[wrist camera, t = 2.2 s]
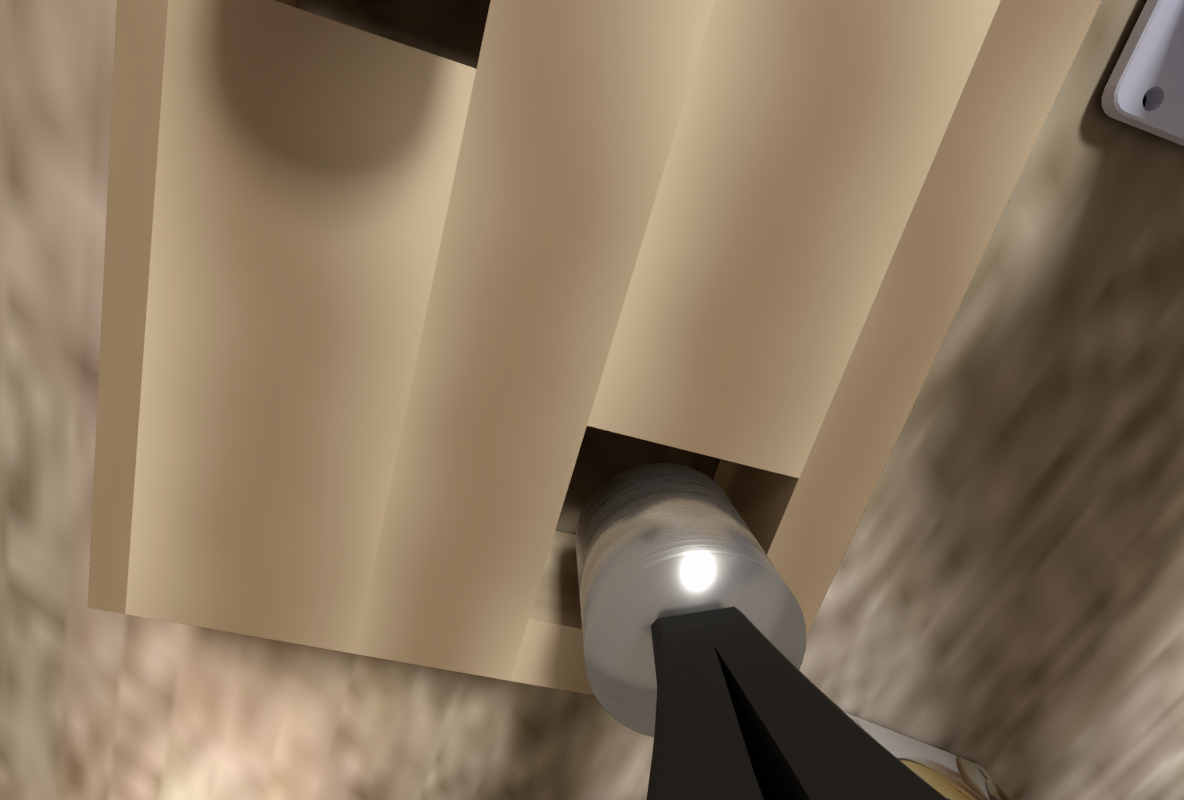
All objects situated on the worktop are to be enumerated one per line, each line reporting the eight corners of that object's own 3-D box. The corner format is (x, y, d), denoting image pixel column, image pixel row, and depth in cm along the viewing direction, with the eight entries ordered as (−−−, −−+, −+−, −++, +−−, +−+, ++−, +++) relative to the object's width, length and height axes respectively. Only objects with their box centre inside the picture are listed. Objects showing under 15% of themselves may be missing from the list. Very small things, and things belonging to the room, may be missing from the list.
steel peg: (759, 484, 12) (840, 581, 9) (704, 619, 13) (759, 754, 10) (602, 445, 11) (623, 532, 8) (556, 589, 12) (559, 722, 9)
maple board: (983, -38, 12) (1175, -158, 9) (716, 615, 17) (764, 725, 13) (298, -330, 10) (148, -665, 6) (205, 511, 15) (87, 607, 11)
